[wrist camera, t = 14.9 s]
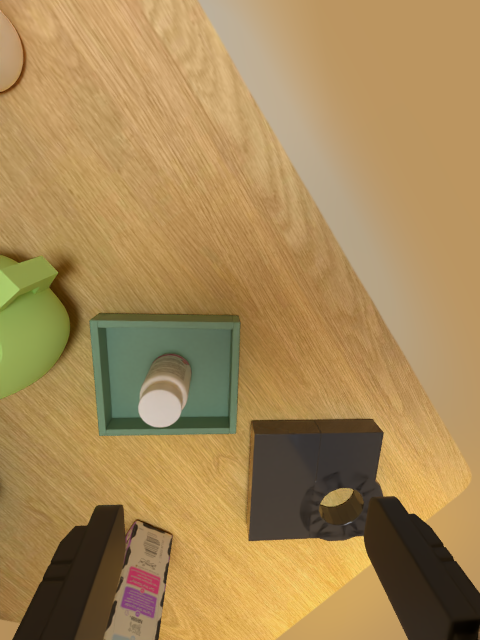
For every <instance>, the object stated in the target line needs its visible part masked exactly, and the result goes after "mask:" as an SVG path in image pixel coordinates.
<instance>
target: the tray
mask: <svg viewBox="0 0 480 640" xmlns="http://www.w3.org/2000/svg"><path fill="white" fill-rule="evenodd" d="M90 333H91V344H92V356H93V368H94V380H95V392H96V404H97V415H98V427H99V436H120V435H185V434H229V433H230V434H236V423H237V398H238V372H239V346H240V320H239V317H238V315H180V314H118V313H99V314H98V315H96V316H95V317H94V318H92V319H91V320H90ZM170 353H172V354H177V355H180V356H182V357H183V358H185V359H186V360H187V362H188V363H189V365H190V367H191V380H190V387H189V393H188V399H187V402H186V405H185V407H184V408H183V409H182V411H181V414H180V417H179V418H178V420H177V421H176V422H175V423H173V424H172V425H170V426H167V427H160V428H159V427H153V426H151V425H149V424H147V423H145V422H144V421H143V420H142V418H141V417H140V414H139V411H138V405H139V402H140V390H141V387H142V385H143V383H144V381H145V378H146V376H147V374H148V372H149V370H150V367H151V365H152V363H153V362H154V361H155V359H157V358H158V357H159V356H161V355H164V354H170Z"/></svg>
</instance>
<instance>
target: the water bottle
mask: <svg viewBox="0 0 480 640" xmlns="http://www.w3.org/2000/svg"><path fill="white" fill-rule="evenodd" d="M22 66H23V49H22V45H21V41H20V38H19V36H18V34H17V32H16V30H15V28H14V26H13V25H12V23H11V22H10V21H9V19H8V18H7V17H6V16H5V15H4V14H3V12H2V11H1V10H0V92H2V91H4V90H6V89H8V88H10V87H11V86H12V85H13V84H14V83H15V82H16V80H17V79H18V77H19V75H20V73H21V70H22Z"/></svg>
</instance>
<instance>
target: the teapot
mask: <svg viewBox="0 0 480 640" xmlns="http://www.w3.org/2000/svg"><path fill="white" fill-rule="evenodd" d="M57 274H58V272H57V271H56V270H55V268H54V267H53V266H52V265H51V264H50V263H49V262H48V261H47V260H46V259H45V258H44V257H43V256H39V257H36V258H33V259H30V260H27V261H24V262H21V263H18V262H16V261H14V260H13V259H10V258H8V257H6V256H3V255H0V399H2V398H5V397H7V396H9V395H12V394H14V393H16V392H18V391H20V390H22V389H24V388H26V387H28V386H30V385H31V384H33V383H34V382H36V381H37V380H38V379H40V378H41V377H42V376H43V375H45V374H46V373H47V372H48V371H49V370H50V369H51V368H52V367H53V366H54V365H55V363H56V362H57V361H58V359H59V358H60V356H61V354H62V352H63V350H64V348H65V346H66V344H67V341H68V338H69V334H70V320H69V316H68V313H67V311H66V309H65V307H64V305H63V304H62V303H61V301H60V300H59V299H58V297H57V296H56V295H55V294H54V293H53V292H52V290H51V289H50V288H49V286H50V285H51V283H52V282H53V280H54V279H55V277H56V276H57Z"/></svg>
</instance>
